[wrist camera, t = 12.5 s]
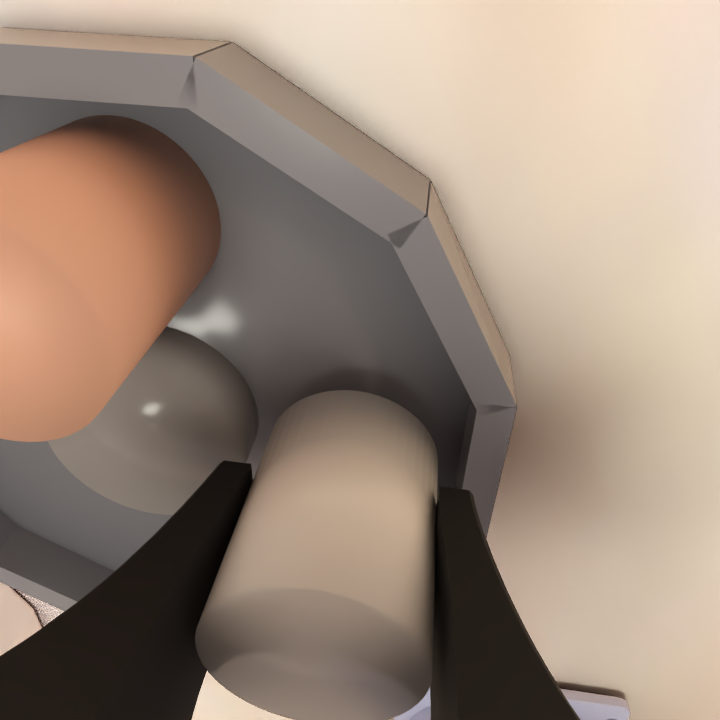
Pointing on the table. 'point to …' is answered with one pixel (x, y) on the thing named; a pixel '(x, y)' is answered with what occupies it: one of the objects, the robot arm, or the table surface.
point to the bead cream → (331, 566)
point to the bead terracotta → (92, 265)
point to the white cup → (15, 619)
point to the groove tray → (247, 302)
